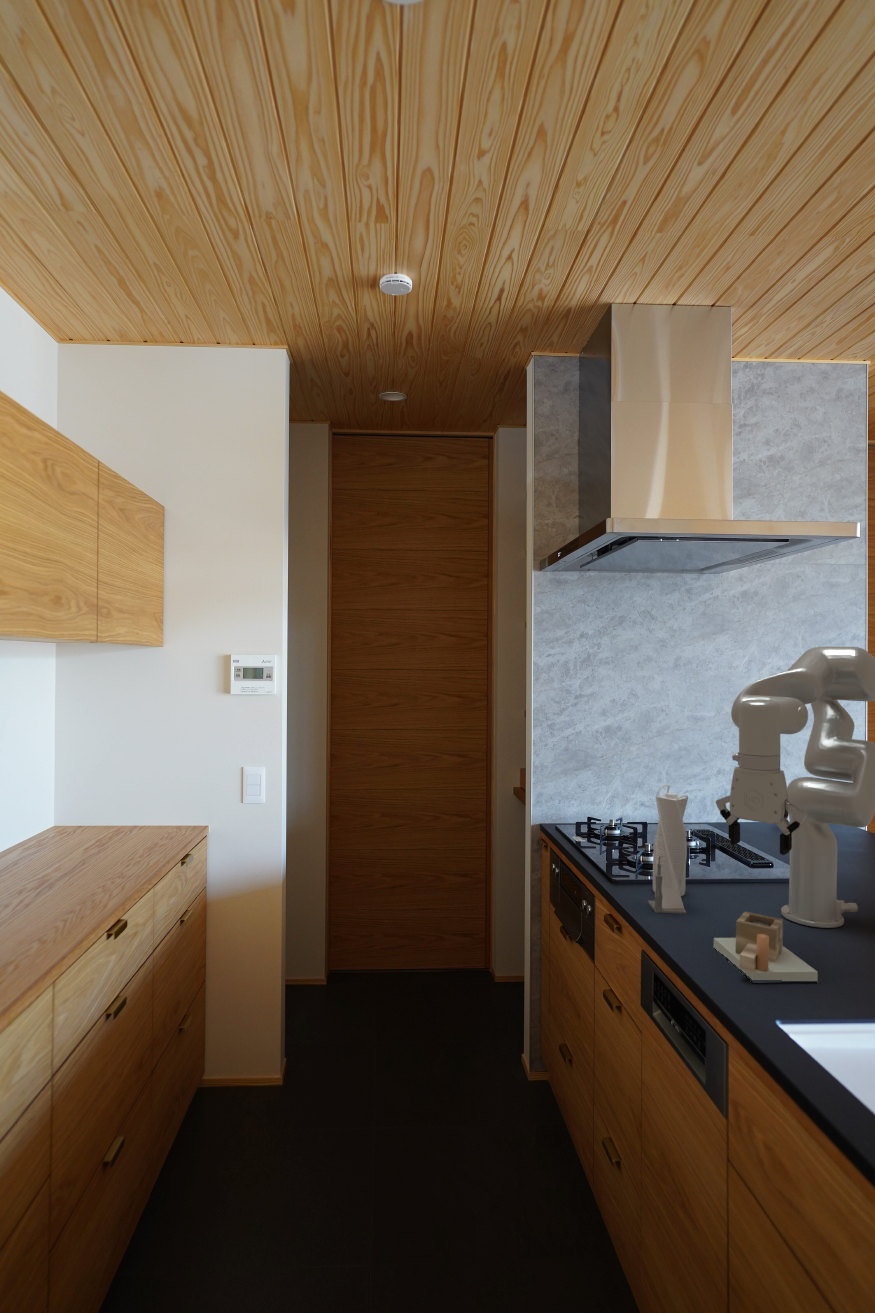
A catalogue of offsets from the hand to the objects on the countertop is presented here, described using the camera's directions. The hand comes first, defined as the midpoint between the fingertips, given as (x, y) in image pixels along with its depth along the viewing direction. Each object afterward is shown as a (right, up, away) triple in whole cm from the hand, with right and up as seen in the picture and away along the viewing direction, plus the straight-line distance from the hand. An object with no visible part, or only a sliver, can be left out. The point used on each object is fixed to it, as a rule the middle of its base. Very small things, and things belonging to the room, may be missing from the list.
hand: (759, 848), depth 146 cm
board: (-2, -21, -6) cm, 22 cm away
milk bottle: (-7, -21, +36) cm, 42 cm away
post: (-2, -19, -5) cm, 19 cm away
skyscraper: (-10, -21, +26) cm, 34 cm away
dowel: (-5, -19, -13) cm, 23 cm away
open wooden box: (-4, -19, -8) cm, 20 cm away
